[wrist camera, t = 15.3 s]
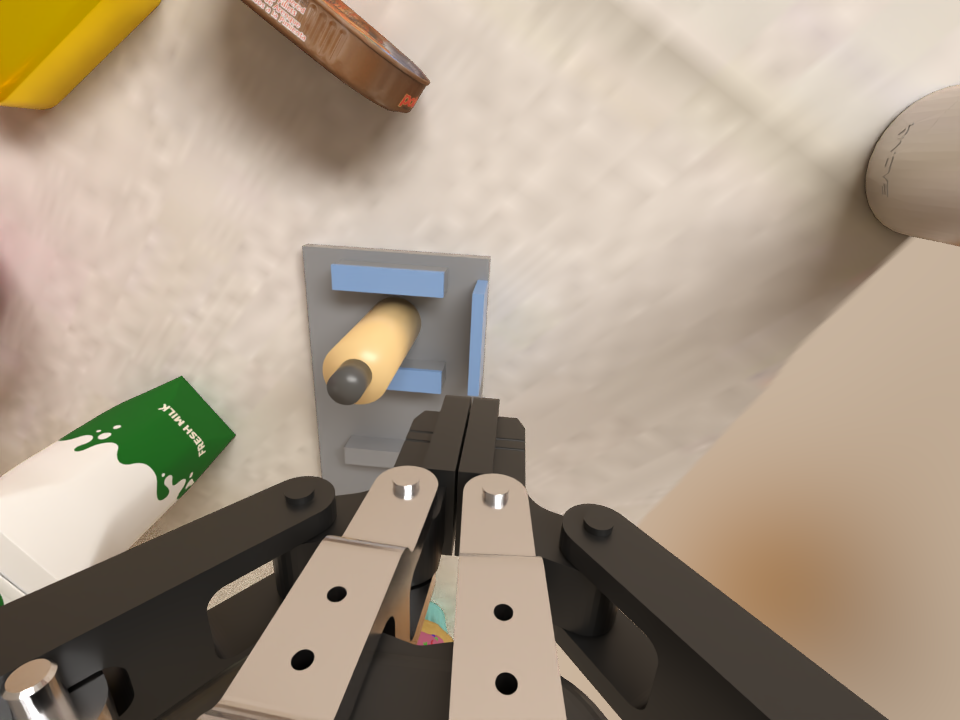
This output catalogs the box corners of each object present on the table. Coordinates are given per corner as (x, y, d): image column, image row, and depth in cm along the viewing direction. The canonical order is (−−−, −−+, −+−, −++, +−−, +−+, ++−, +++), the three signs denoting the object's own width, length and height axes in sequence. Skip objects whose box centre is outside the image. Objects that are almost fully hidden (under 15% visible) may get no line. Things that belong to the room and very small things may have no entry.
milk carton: (116, 408, 45) (-169, 584, 26) (183, 361, 42) (-80, 518, 24) (184, 478, 47) (-32, 683, 29) (251, 437, 45) (61, 633, 26)
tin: (442, 86, 33) (417, 64, 25) (415, 128, 34) (383, 119, 26) (246, -82, 30) (149, -165, 22) (223, -31, 31) (125, -93, 24)
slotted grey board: (490, 256, 37) (485, 270, 32) (473, 530, 47) (468, 571, 42) (307, 243, 38) (277, 256, 33) (329, 516, 48) (308, 554, 43)
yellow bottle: (421, 298, 37) (378, 358, 26) (421, 347, 39) (380, 423, 28) (369, 295, 38) (305, 352, 27) (371, 343, 39) (312, 417, 28)
